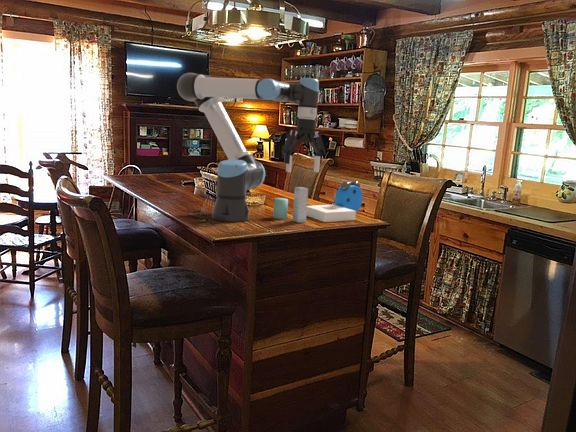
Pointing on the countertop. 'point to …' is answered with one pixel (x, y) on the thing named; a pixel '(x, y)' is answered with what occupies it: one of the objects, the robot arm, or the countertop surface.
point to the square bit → (300, 204)
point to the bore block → (330, 213)
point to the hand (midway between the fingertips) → (302, 172)
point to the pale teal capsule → (280, 208)
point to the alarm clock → (349, 195)
